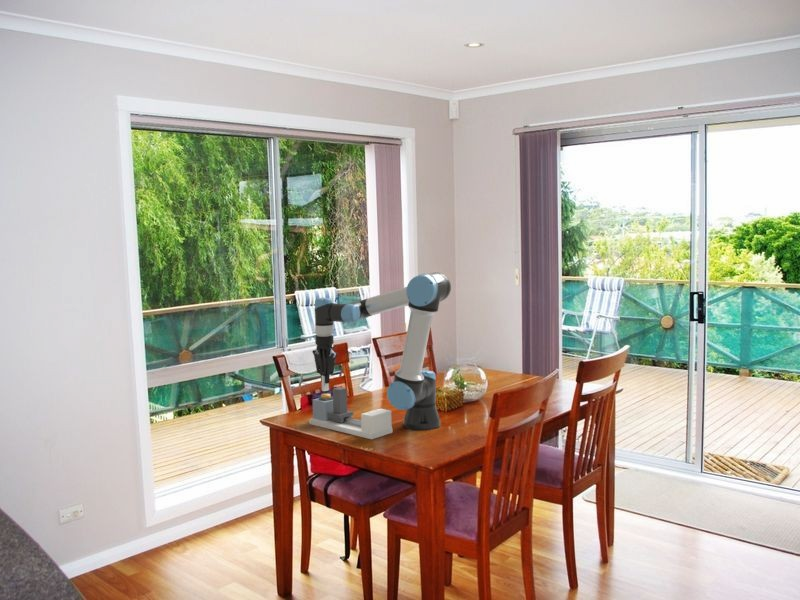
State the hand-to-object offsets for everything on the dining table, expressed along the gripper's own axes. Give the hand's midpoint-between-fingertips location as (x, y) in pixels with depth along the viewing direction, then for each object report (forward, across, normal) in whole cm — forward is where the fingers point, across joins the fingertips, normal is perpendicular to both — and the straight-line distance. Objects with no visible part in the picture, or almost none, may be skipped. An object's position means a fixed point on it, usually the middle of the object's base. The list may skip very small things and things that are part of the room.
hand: (325, 390), depth 304 cm
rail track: (+14, -14, 0) cm, 20 cm away
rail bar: (+12, -15, 0) cm, 19 cm away
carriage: (+11, -9, 0) cm, 14 cm away
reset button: (+7, 0, 0) cm, 7 cm away
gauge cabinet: (+12, 0, 0) cm, 12 cm away
